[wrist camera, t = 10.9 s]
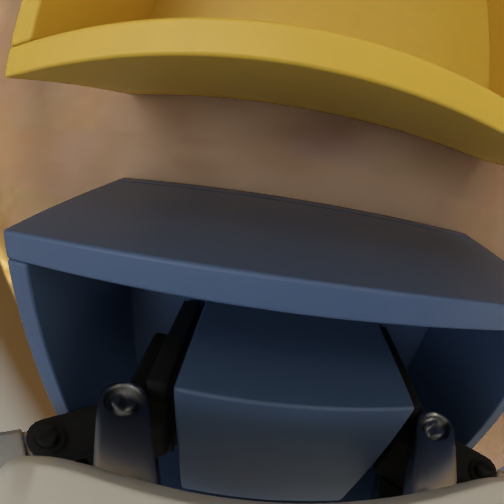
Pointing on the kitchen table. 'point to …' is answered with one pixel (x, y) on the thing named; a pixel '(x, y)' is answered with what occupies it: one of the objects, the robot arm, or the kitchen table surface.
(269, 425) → the blue block
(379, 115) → the yellow bin
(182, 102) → the kitchen table surface
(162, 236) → the blue bin
